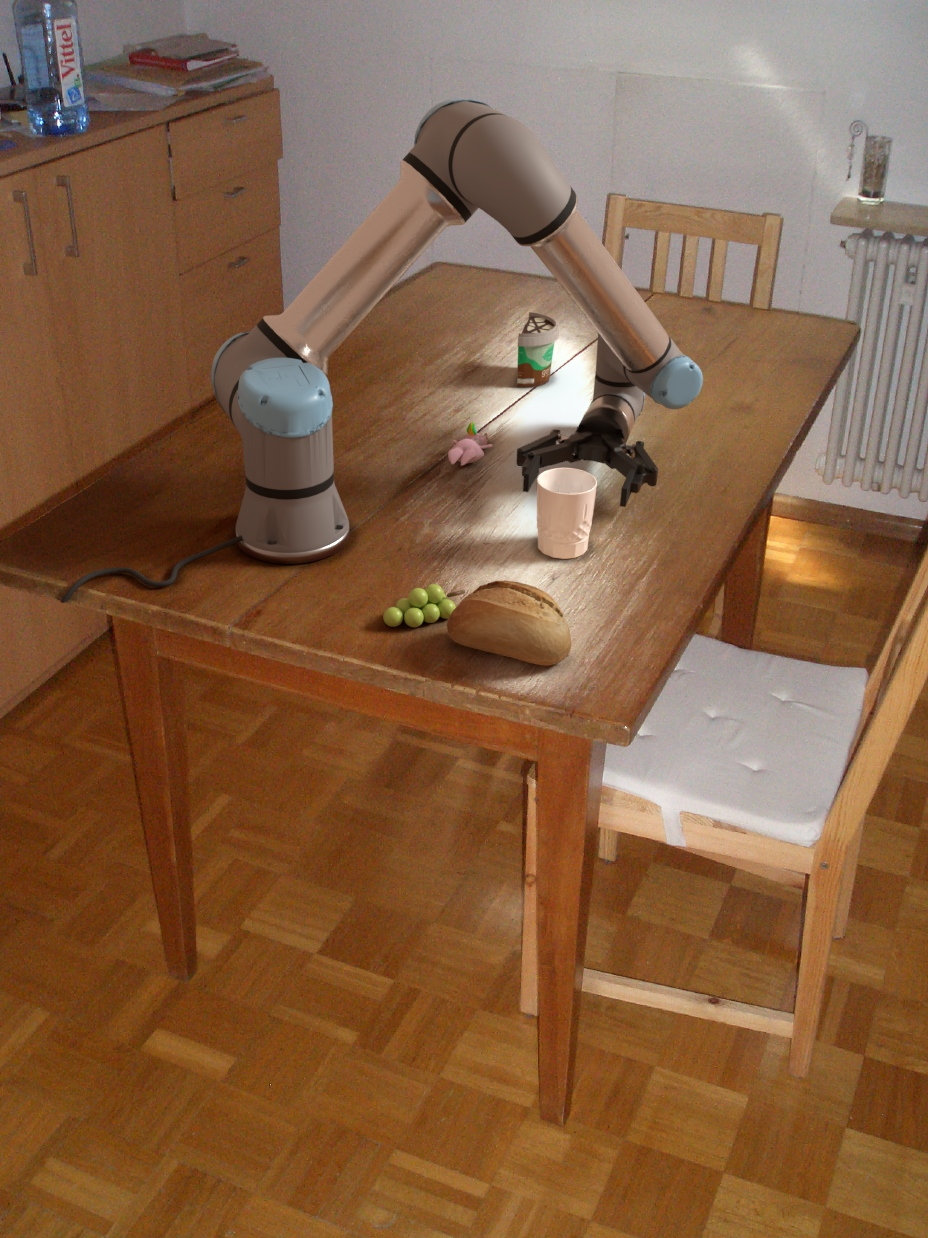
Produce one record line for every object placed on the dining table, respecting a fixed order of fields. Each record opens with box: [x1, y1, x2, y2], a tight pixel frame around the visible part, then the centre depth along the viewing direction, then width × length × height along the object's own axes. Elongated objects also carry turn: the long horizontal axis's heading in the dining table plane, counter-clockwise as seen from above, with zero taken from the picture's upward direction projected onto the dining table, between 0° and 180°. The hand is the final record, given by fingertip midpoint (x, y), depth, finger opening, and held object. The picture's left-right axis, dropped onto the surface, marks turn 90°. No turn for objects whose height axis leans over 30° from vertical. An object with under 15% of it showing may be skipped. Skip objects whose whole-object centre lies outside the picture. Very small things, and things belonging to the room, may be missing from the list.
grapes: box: [382, 583, 466, 628], centre depth 155 cm, size 11×5×4 cm, turn 118°
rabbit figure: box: [447, 421, 493, 466], centre depth 192 cm, size 6×6×15 cm
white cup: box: [536, 467, 598, 560], centre depth 169 cm, size 8×8×10 cm
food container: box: [516, 311, 560, 389], centre depth 220 cm, size 12×6×10 cm, turn 168°
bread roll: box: [446, 580, 572, 667], centre depth 148 cm, size 10×15×8 cm, turn 73°
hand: (574, 490), depth 173 cm, fingers open, 13 cm apart
